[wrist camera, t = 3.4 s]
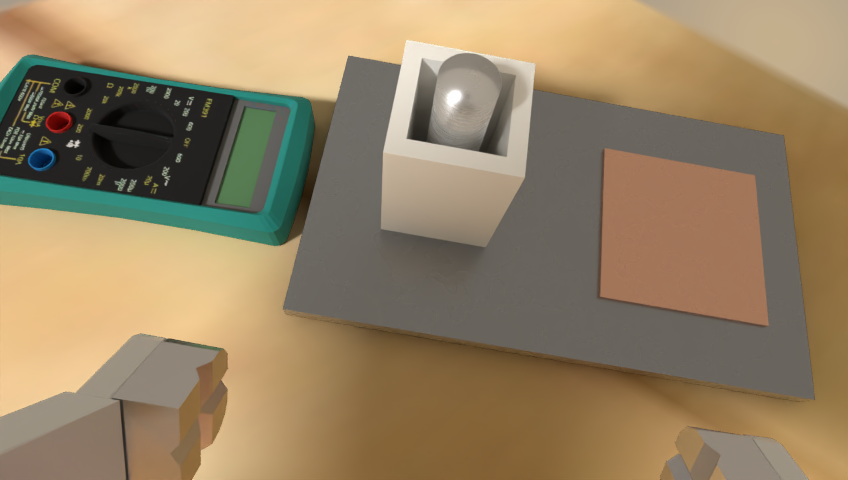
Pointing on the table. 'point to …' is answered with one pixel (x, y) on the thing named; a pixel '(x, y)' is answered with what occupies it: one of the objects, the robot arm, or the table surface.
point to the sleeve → (453, 154)
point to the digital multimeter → (153, 149)
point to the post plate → (571, 239)
